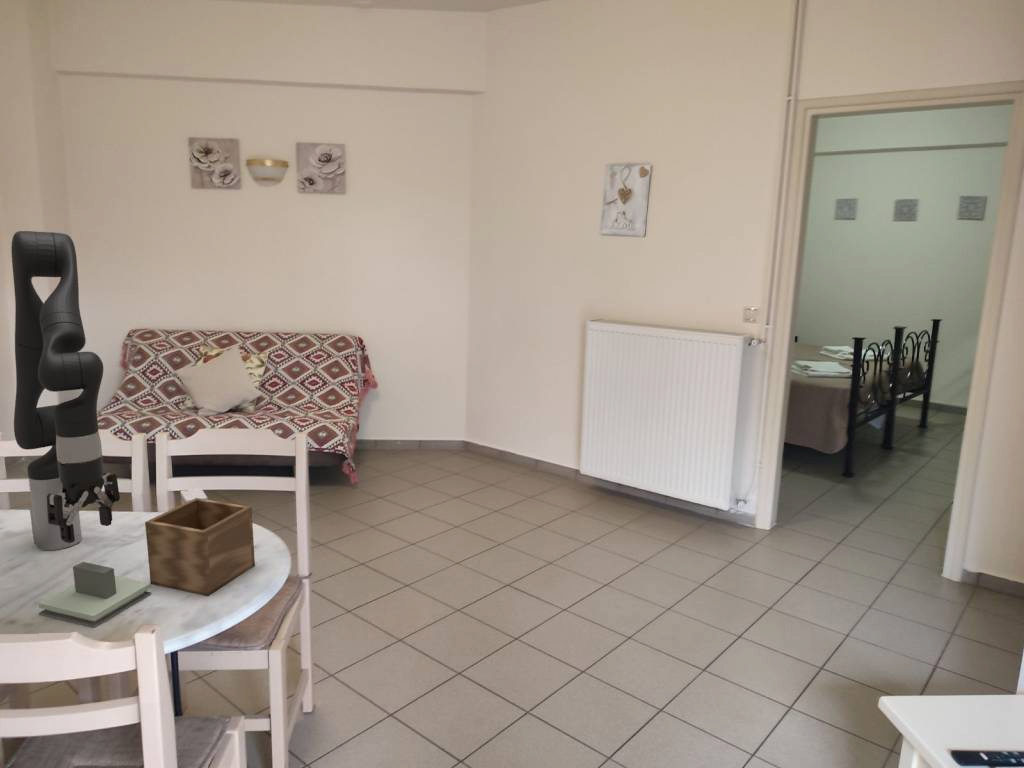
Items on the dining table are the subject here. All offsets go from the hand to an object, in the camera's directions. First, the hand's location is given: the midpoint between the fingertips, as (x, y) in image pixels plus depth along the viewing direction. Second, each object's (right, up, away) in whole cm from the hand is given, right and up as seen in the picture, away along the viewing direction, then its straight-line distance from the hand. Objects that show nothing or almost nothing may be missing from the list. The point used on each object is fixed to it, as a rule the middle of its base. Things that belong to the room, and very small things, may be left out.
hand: (87, 533), depth 147 cm
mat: (0, -15, +3) cm, 15 cm away
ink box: (+7, -9, +34) cm, 36 cm away
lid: (0, -14, +3) cm, 15 cm away
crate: (+16, -12, +17) cm, 26 cm away
